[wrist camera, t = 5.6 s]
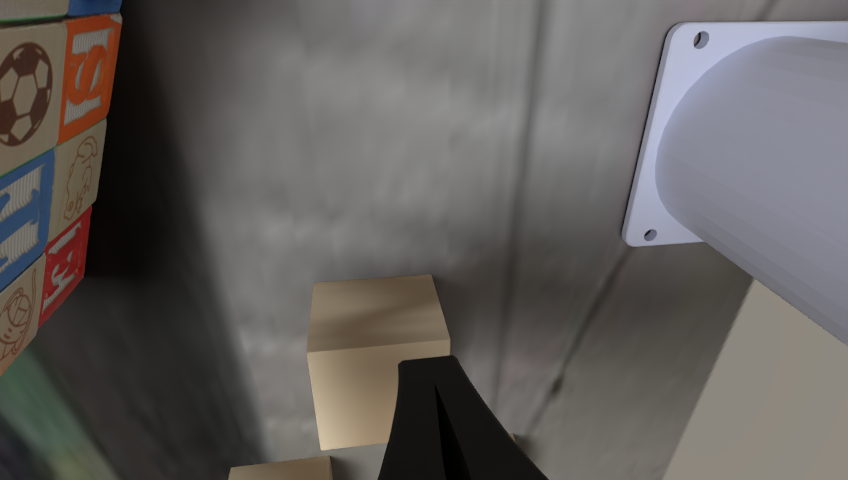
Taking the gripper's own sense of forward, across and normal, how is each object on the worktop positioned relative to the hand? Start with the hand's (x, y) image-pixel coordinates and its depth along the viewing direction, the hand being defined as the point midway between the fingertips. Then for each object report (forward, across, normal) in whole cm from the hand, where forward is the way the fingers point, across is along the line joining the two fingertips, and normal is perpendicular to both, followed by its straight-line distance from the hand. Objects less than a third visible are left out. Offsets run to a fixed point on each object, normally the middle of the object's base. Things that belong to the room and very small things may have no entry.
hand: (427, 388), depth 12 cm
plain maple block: (+7, +1, +4) cm, 8 cm away
